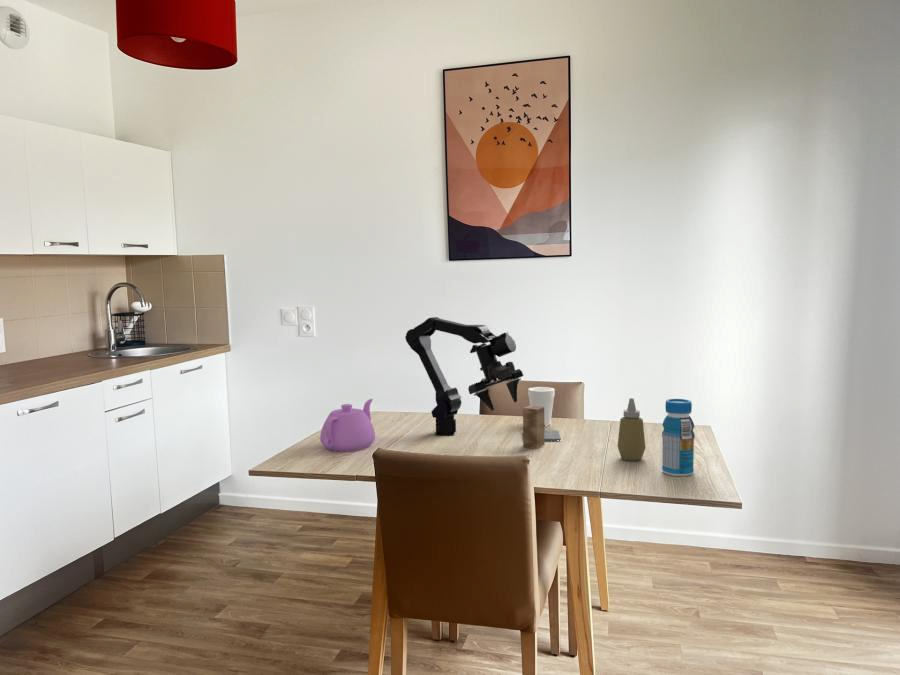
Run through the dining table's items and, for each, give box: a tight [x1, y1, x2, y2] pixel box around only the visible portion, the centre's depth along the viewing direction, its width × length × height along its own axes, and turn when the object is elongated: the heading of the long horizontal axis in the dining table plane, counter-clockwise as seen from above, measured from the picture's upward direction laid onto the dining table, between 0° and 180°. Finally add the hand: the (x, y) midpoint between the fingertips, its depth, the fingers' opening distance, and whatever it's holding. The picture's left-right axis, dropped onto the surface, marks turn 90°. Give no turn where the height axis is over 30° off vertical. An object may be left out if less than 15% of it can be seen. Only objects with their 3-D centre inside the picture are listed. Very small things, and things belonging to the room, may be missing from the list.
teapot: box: [319, 398, 376, 452], centre depth 226 cm, size 25×18×14 cm
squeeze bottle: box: [617, 397, 646, 462], centre depth 203 cm, size 8×8×18 cm
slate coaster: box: [544, 429, 562, 442], centre depth 232 cm, size 12×12×1 cm
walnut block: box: [522, 404, 545, 449], centre depth 220 cm, size 5×5×12 cm
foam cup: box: [527, 386, 556, 425], centre depth 250 cm, size 10×9×13 cm
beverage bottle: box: [661, 398, 696, 477], centre depth 188 cm, size 8×8×20 cm
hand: (504, 406), depth 226 cm, fingers open, 9 cm apart
